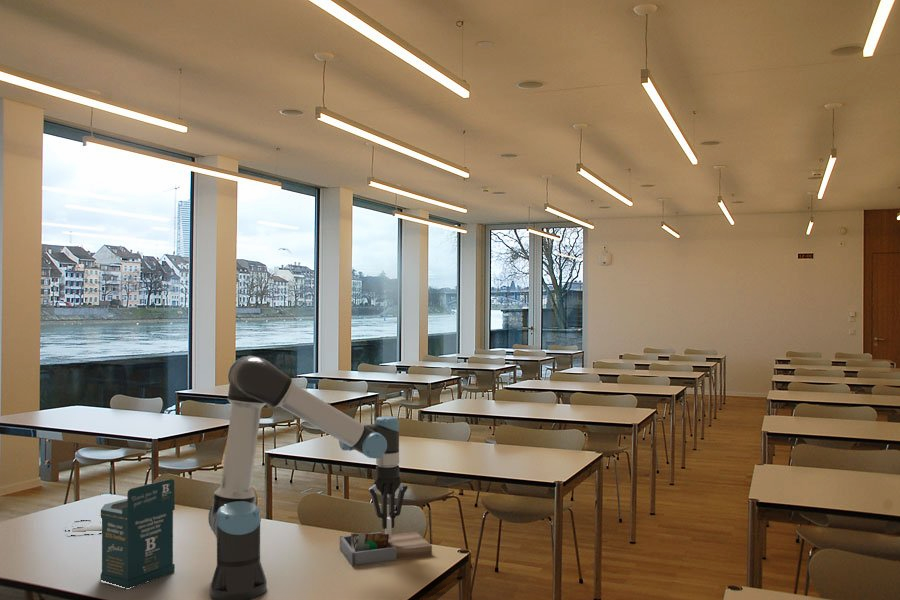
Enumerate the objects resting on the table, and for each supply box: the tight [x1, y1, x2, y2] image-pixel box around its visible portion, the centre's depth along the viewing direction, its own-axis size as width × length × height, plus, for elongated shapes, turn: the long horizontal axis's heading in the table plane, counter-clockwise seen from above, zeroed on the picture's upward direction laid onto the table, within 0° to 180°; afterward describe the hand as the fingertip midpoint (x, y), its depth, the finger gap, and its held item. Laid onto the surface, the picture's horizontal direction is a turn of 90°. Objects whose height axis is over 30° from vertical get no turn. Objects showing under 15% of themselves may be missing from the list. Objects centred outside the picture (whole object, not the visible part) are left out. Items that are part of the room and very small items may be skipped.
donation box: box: [100, 478, 176, 588], centre depth 216 cm, size 16×16×28 cm
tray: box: [339, 531, 398, 567], centre depth 233 cm, size 18×14×4 cm
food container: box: [350, 532, 389, 552], centre depth 234 cm, size 12×6×10 cm
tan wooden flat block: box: [387, 531, 433, 561], centre depth 238 cm, size 16×12×3 cm
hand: (388, 538), depth 236 cm, fingers closed
